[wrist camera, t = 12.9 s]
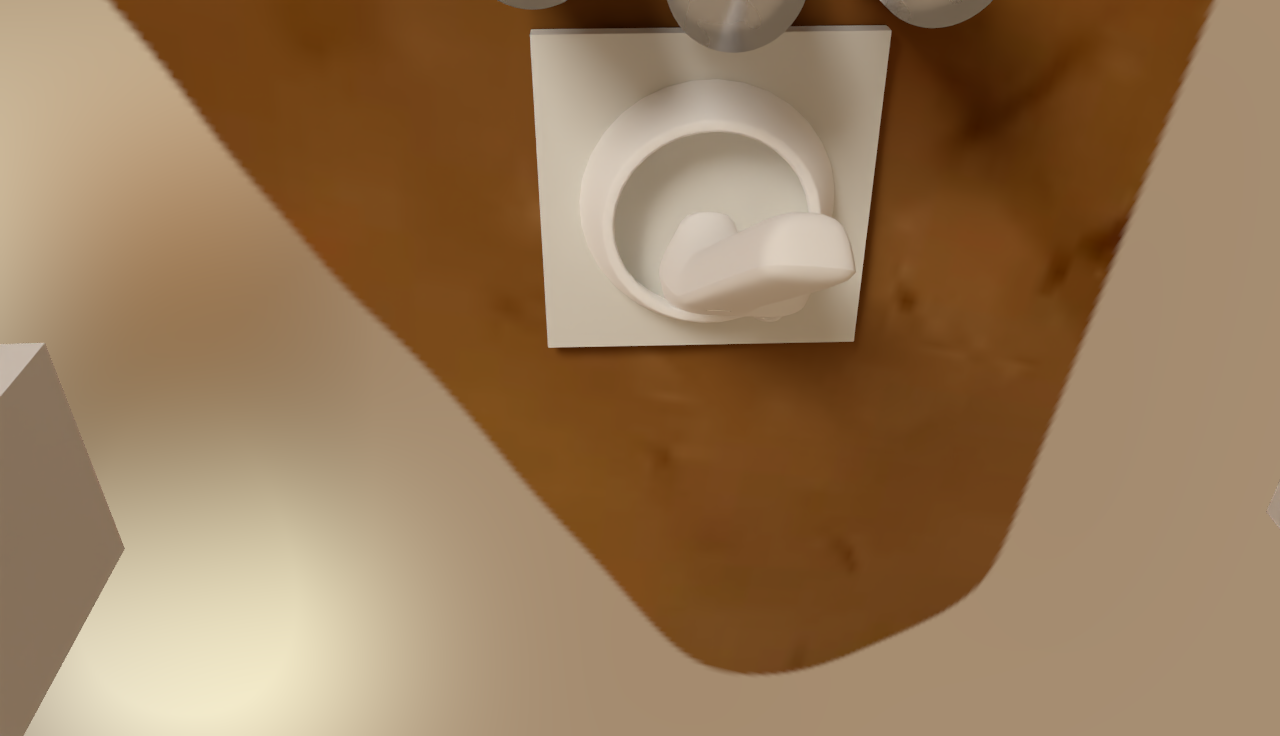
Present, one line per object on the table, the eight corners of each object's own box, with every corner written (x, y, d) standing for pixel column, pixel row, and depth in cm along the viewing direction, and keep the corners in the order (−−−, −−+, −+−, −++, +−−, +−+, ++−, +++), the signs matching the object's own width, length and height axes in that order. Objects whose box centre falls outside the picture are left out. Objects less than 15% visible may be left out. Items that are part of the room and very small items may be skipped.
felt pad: (531, 29, 29) (530, 34, 29) (886, 25, 29) (891, 30, 29) (548, 338, 34) (548, 347, 34) (849, 332, 35) (853, 341, 34)
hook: (982, -38, 23) (1018, 276, 23) (783, 119, 35) (806, 328, 34) (654, -40, 21) (690, 302, 21) (561, 127, 33) (583, 348, 33)
